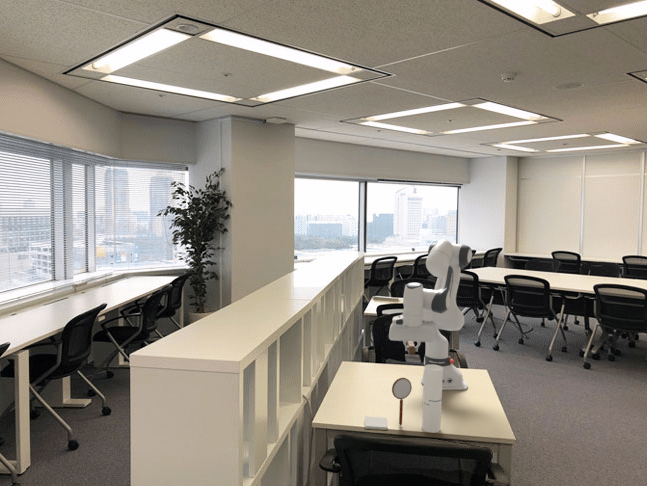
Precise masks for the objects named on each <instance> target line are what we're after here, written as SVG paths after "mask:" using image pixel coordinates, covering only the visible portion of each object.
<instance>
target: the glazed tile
mask: <svg viewBox="0 0 647 486" xmlns="http://www.w3.org/2000/svg"><path fill="white" fill-rule="evenodd" d="M364 429H366V430H382V431H383V430H384V431H387V430H388V429H389V428H388V417H383V416H382V417H381V416H380V417H379V416H367V415H366V416H364Z"/></svg>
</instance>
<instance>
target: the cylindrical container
mask: <svg viewBox="0 0 647 486" xmlns="http://www.w3.org/2000/svg"><path fill="white" fill-rule="evenodd" d="M423 373H424V385H423V391H422V392H423V394H422V397H423V398H422V418H421V419H422V421H421V429H422V430H424V431H425V432H427V433H439V432H440V431H441V421H442V398H443V390H442V378H443V367H441V366H439V365H433V364H430V365H425V367H424V368H423Z"/></svg>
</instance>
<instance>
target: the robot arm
mask: <svg viewBox="0 0 647 486" xmlns="http://www.w3.org/2000/svg"><path fill="white" fill-rule="evenodd" d="M472 257H473V252H472V248H471V247H470V246H469V245H466V244H459V243H453V242H451V241H448V240H445V239H440V240H438V241H437V242H433V243H431V244H430V245H429V247H428V251H427V258H426V260H425V267H426V269H427V271H428V272H429V273H430V274H431V275H432V276H433V277H436V278H437V279H436V282H435V285H434V289H431V288H430V289H429V288H424V285H423V284H422V283H420V282H416V281H415V282H408V283H407V284H405V286H404V290H403V298H402V299H403V300H402V303H403V310H402V314H400V315H396V316H393V317H392V320H391V321H392V323H391V324H390V327H389V330H388V331H389V333H388V339H389V340H390V341H394V342H395V341H398V342H402V343H403V345H404V347H405V349H404V350H405V352H408V351H409V346H407V341H413V342H416V343H417V345H416V346H415V352H419V351H418V350H419V347H420V346H421V343H425V354H424V357H423V365H424V367H425V365H430V364H433V365H439V366H441V367H443V378H442V391H453V390H454V391H458V390H459V391H461V390H463V391H464V390H467V389H468V386H469V385H468V383H467V381H466V380H464V376H463V374H462V371H461V370H460V369H458V368H457V367H456V365H454V363H455V361H454V359H453V358H452V357H451V356H449V341H448V339H447V338H446V337H445V336H444V335H443V334H441V332H440V330H444V331H447V332H449V331H450V332H451V331H453V332H454V331H460V330H461V329H462V328H463V327H464V325H465V316H464V314H463V312H462V311H461V310H460V309H459V307H458V305H457V293H458V289H459V285H460V281H461V270H463V269H464V268H465V267H468V266H469V264H470V263H471V261H472ZM420 382H421V384H422V385H423V386H424V372H423V373H422V376H421V380H420Z"/></svg>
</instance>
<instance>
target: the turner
mask: <svg viewBox="0 0 647 486" xmlns="http://www.w3.org/2000/svg"><path fill="white" fill-rule="evenodd" d="M414 342H415V341H407V343H406V345H407V346H409V351H407V353H408V354H407V353H405V354H404V357H405V361H406V363H414V364H421V363H422V360H421V357H420V354H416V351H415V347H416V346H415V343H414Z"/></svg>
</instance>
